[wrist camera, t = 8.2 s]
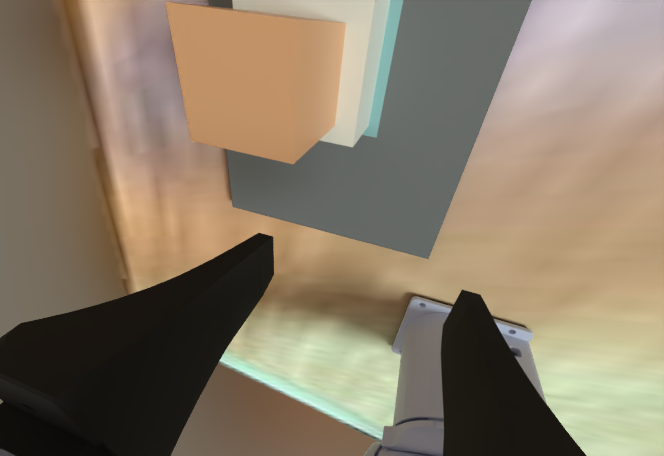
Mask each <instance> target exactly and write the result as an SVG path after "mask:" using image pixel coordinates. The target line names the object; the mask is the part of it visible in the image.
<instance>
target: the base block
mask: <svg viewBox="0 0 664 456" xmlns="http://www.w3.org/2000/svg"><path fill="white" fill-rule="evenodd" d="M232 3H233V9H241V10H250V11H259V12H266V13H274V14H282V15H289V16H297V17H304V18H312V19H319V20H327V21H334V22H342V23H346V29H345V38H344V47H343V56H342V66H341V75H340V84H339V93H338V102H337V112H336V121H335V126H334V127H333V128H332V129H331V130H330V131H329V132H328V133H327V134H326V135H324V136H323V137H322V138H321V139H320V141H325V142H329V143H334V144H339V145H344V146H349V147H353V146H354V145H355V144H356V142H357V141H358V140H359V138H360V137H361V135H362V134H363V133H364V131H365V130H366V129H367V127H368V126H369V120H370V115H371V109H372V103H373V97H374V92H375V86H376V80H377V75H378V69H379V63H380V57H381V52H382V46H383V40H384V35H385V29H386V23H387V17H388V12H389V6H390V0H232Z"/></svg>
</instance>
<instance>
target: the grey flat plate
mask: <svg viewBox="0 0 664 456" xmlns="http://www.w3.org/2000/svg"><path fill="white" fill-rule="evenodd" d="M531 1H532V0H390V6H389V12H388V17H387V23H386V29H385V35H384V40H383V46H382V52H381V57H380V63H379V69H378V75H377V80H376V86H375V92H374V97H373V103H372V109H371V115H370V120H369V126H368V127H367V129H366V130H365V131H364V133H363V134H362V135H361V137H360V138H359V140H358V141H357V142H356V144H355V145H354V146H353V147H349V146H344V145H339V144H334V143H329V142H325V141H320V140H319V141H318V142H317V143H316V144H315V145H314V146H313V147H311V148H310V149H309V150H308V151H307V152H306V153H305V154H304V155H303V156H302V157H301V158H300V159H299V160H297V161H296V162H295V163H294V164H289V163H285V162H281V161H276V160H272V159H268V158H263V157H259V156H255V155H250V154H246V153H242V152H237V151H233V150H229V149H226V153H227V162H228V171H229V179H230V188H231V197H232V205H233V207H236V208H239V209H243V210H247V211H250V212H254V213H258V214H262V215H265V216H269V217H273V218H277V219H280V220H284V221H288V222H292V223H295V224H299V225H303V226H307V227H310V228H314V229H318V230H322V231H325V232H329V233H333V234H337V235H340V236H344V237H348V238H351V239H355V240H359V241H363V242H366V243H370V244H374V245H378V246H381V247H385V248H389V249H393V250H396V251H400V252H404V253H408V254H411V255H415V256H419V257H423V258H426V259H428V258H429V256H430V253H431V251H432V248H433V246H434V243H435V241H436V238H437V236H438V233H439V231H440V228H441V226H442V223H443V221H444V218H445V216H446V213H447V211H448V208H449V206H450V203H451V201H452V198H453V196H454V193H455V191H456V188H457V186H458V183H459V181H460V178H461V176H462V173H463V171H464V168H465V166H466V163H467V161H468V158H469V156H470V153H471V151H472V148H473V146H474V143H475V141H476V138H477V136H478V133H479V131H480V128H481V126H482V123H483V121H484V118H485V116H486V113H487V111H488V108H489V106H490V103H491V101H492V98H493V96H494V93H495V91H496V88H497V86H498V83H499V81H500V78H501V76H502V73H503V71H504V68H505V66H506V63H507V61H508V58H509V56H510V53H511V51H512V48H513V46H514V43H515V41H516V38H517V36H518V33H519V31H520V28H521V26H522V23H523V21H524V18H525V16H526V13H527V11H528V8H529V6H530V3H531ZM209 6H211V7H221V8H231V9H233V3H232V0H209Z"/></svg>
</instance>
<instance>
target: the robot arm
mask: <svg viewBox="0 0 664 456" xmlns="http://www.w3.org/2000/svg"><path fill="white" fill-rule="evenodd" d="M273 275H274V255H273V237H272V236H268V235H265V234H261V233H258V234H256V235H254V236H253V237H251V238H249V239H247V240H246V241H244V242H242V243H240V244H239V245H237V246H235V247H233V248H232V249H230V250H228V251H226V252H224V253H223V254H221V255H219V256H217V257H215V258H214V259H212V260H210V261H208V262H206V263H204V264H202V265H200V266H198V267H196V268H194V269H192V270H190V271H188V272H186V273H183V274H181V275H179V276H177V277H175V278H172V279H170V280H167V281H165V282H163V283H160V284H158V285H155V286H153V287H150V288H147V289H144V290H141V291H139V292H136V293H133V294H130V295H127V296H124V297H121V298H119V299H115V300H112V301H109V302H105V303H102V304H99V305H95V306H91V307H88V308H84V309H80V310H77V311H73V312H69V313H65V314H60V315H56V316H51V317H47V318H43V319H39V320H34V321H29V322H24V323H21V324H19V325H18V326H16V327H15V328H14V329H12V330H11V331H9V332H8V333H7V334H5V335H4V336H2V337H1V338H0V399H1V400H2V401H4V402H3V403H1V404H0V456H171V453H172V451H173V449H174V447H175V445H176V443H177V441H178V439H179V437H180V434H181V432H182V430H183V428H184V426H185V424H186V422H187V420H188V418H189V417H190V414H191V413H192V410H193V409H194V406H195V405H196V403H197V400H198V399H199V397H200V395H201V393H202V391H203V389H204V388H205V386H206V384H207V382H208V380H209V378H210V376H211V375H212V373H213V371H214V369H215V367H216V366H217V364H218V362H219V360H220V359H221V357H222V355H223V353H224V352H225V350H226V348H227V347H228V345H229V344H230V342H231V341H232V339H233V338H234V336H235V335H236V333H237V332H238V331H239V329H240V328H241V326H242V325H243V323H244V322H245V321H246V319H247V318H248V316H249V315H250V313H251V312H252V311H253V309H254V308H255V306H256V305H257V303H258V302H259V300H260V299H261V297H262V296H263V294H264V292H265V290H266V289H267V287H268V285H269V283H270V281H271V279H272V277H273ZM421 303H424V304H421ZM532 338H533V333H532V331H531V330H530V329H528V328H524V327H521V326H517V325H514V324H511V323H507V322H504V321H500V320H497V319H493V317H492V315H491V313H490V312H489V310H488V308H487V306H486V304H485V302H484V301H483V299H482V297H481V295H479V294H476V293H472V292H468V291H465V290H462V291H461V293H460V294H459V296H458V298H457V300H456V302H455V304H454V306H453V307H452V306H449V305H445V304H442V303H439V302H435V301H432V300H428V299H425V298H421V297H418V296H414V297H412V298H411V300H410V302H409V305H408V307H407V310H406V312H405V315H404V317H403V320H402V322H401V325H400V327H399V330H398V333H397V335H396V338H395V340H394V343H393V345H392V351H393V352H395V353H397V354H400V355H401V361H400V370H399V378H398V387H397V396H396V404H395V413H394V422H393V426H384V431H383V438H382V442H375V443H373V444H372V445H371V446H370V447H369V449H368V450H367V452H366V453H365V455H364V456H586V455H585V453H584V452H583V451H582V450H581V449H580V447H579V446H578V445H577V444H576V442H575V441H574V440H573V439H572V437H571V436H570V435H569V434H568V432H567V431H566V430H565V428H564V427H563V426H562V424H561V423H560V422H559V420H558V419H557V418H556V416H555V415H554V414H553V412H552V411H551V410H550V408H549V407H548V406H547V404H546V401H545V398H544V394H543V391H542V387H541V384H540V380H539V377H538V373H537V370H536V366H535V363H534V359H533V356H532V352H531V349H530V345H529V341H530V340H531V339H532Z"/></svg>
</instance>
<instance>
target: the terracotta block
mask: <svg viewBox="0 0 664 456" xmlns="http://www.w3.org/2000/svg"><path fill="white" fill-rule="evenodd" d="M165 4H166V9H167V14H168V20H169V25H170V31H171V36H172V41H173V47H174V52H175V58H176V63H177V69H178V74H179V79H180V85H181V90H182V96H183V101H184V106H185V112H186V117H187V123H188V128H189V134H190V139H191V141H194V142H198V143H202V144H207V145H211V146H216V147H220V148H224V149H229V150H233V151H237V152H242V153H246V154H250V155H255V156H259V157H263V158H268V159H272V160H276V161H281V162H285V163H289V164H294V163H295V162H296V161H297V160H299V159H300V158H301V157H302V156H303V155H304V154H305V153H306V152H307V151H308V150H309V149H310V148H311V147H313V146H314V145H315V144H316V143H317V142H318V141H319V140H320V139H321V138H322V137H323V136H324V135H326V134H327V133H328V132H329V131H330V130H331V129H332V128H333V127H334V126H335V121H336V112H337V102H338V93H339V84H340V75H341V66H342V56H343V47H344V38H345V29H346V23H342V22H334V21H327V20H319V19H312V18H304V17H297V16H289V15H282V14H274V13H266V12H259V11H250V10H241V9H231V8H221V7H211V6H202V5H192V4H182V3H172V2H165Z"/></svg>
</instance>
